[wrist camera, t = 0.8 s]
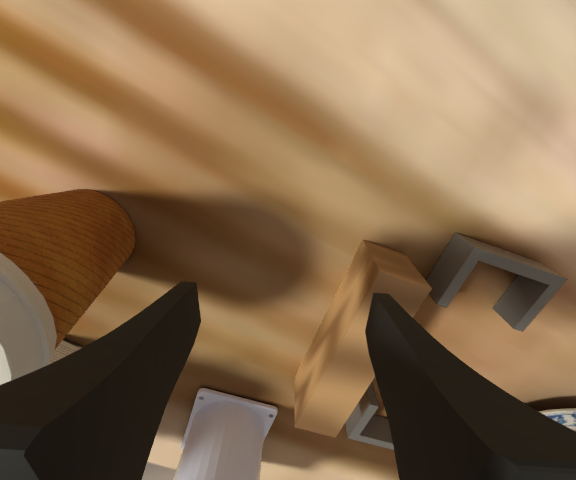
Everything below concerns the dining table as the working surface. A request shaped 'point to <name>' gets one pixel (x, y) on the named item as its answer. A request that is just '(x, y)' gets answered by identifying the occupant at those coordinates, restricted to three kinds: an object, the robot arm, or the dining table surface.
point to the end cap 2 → (531, 274)
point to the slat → (351, 338)
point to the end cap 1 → (369, 422)
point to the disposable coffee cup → (54, 270)
